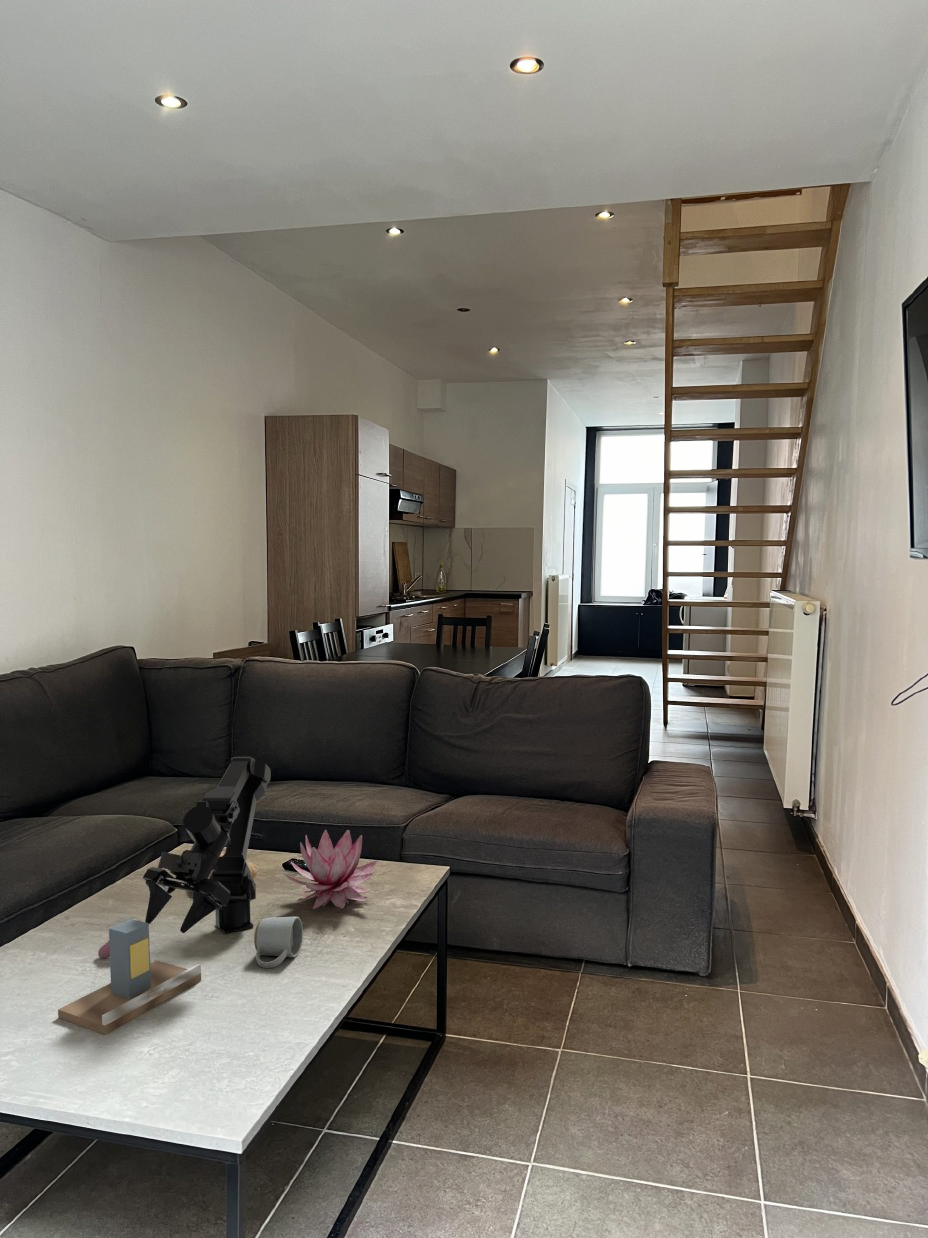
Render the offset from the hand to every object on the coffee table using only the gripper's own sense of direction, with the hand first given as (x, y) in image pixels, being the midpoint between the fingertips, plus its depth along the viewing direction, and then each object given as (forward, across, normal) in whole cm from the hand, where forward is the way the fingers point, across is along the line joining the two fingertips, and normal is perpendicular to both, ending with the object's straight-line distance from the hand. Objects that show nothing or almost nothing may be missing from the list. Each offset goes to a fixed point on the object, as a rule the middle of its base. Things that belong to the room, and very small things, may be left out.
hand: (164, 927), depth 171 cm
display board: (+13, +1, +1) cm, 13 cm away
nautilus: (-25, -27, +40) cm, 54 cm away
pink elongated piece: (+4, -18, +11) cm, 22 cm away
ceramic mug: (-5, +13, +20) cm, 24 cm away
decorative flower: (-26, +5, +40) cm, 48 cm away
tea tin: (+12, 0, 0) cm, 12 cm away
